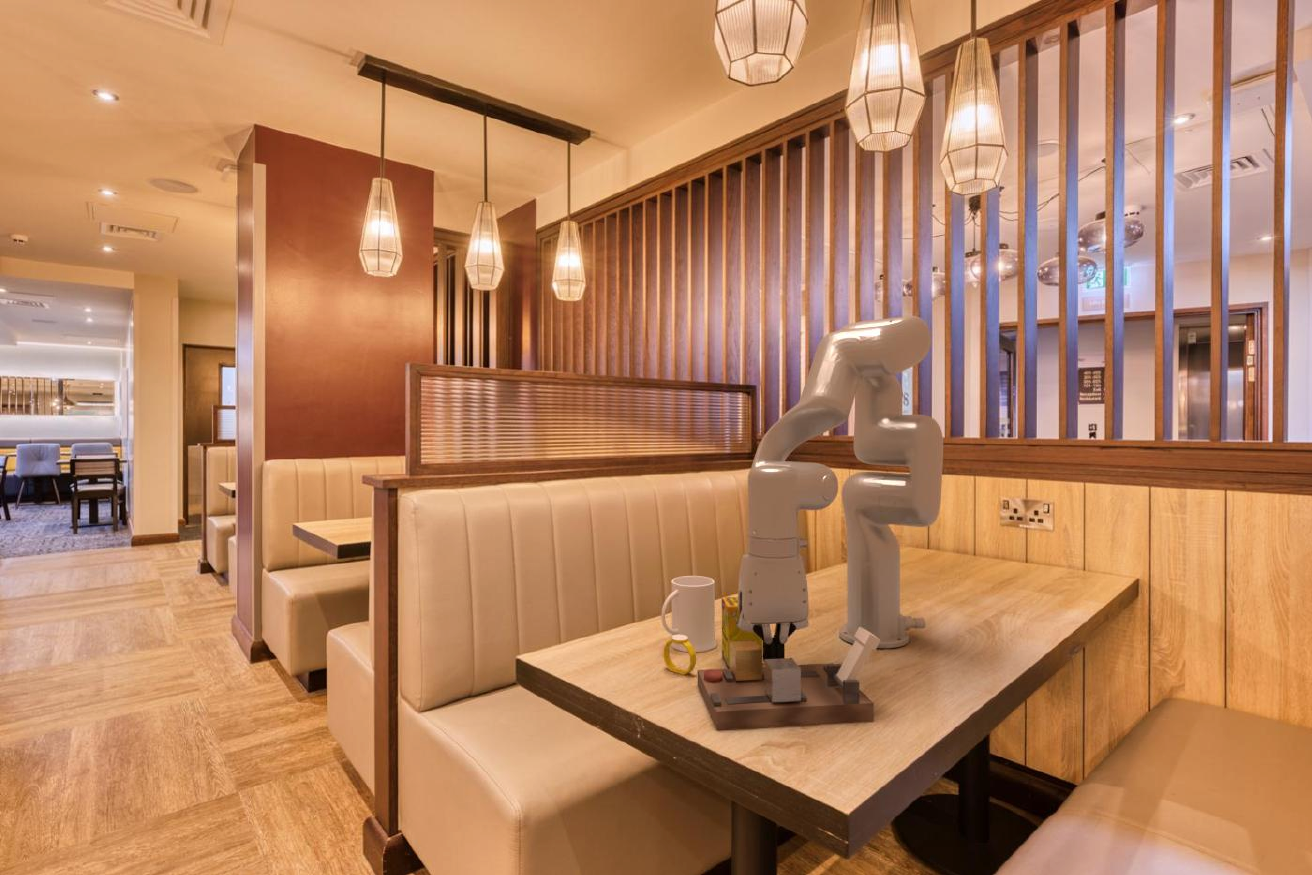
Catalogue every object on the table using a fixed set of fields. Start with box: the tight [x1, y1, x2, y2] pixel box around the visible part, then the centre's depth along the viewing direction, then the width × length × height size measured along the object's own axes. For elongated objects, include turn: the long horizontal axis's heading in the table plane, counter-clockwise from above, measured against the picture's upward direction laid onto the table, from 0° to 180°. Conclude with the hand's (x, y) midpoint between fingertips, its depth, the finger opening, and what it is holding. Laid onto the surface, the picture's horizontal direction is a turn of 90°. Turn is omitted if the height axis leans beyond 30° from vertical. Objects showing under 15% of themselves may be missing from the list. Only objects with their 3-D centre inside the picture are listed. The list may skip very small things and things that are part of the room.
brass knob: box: [730, 641, 763, 681], centre depth 99 cm, size 4×4×4 cm
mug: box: [660, 575, 717, 653], centre depth 120 cm, size 12×8×12 cm
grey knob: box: [763, 657, 801, 702], centre depth 92 cm, size 4×4×4 cm
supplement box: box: [721, 596, 764, 668], centre depth 111 cm, size 6×6×11 cm
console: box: [697, 662, 875, 731], centre depth 96 cm, size 22×15×6 cm
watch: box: [662, 635, 697, 676], centre depth 108 cm, size 6×3×6 cm, turn 51°
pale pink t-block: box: [833, 626, 881, 689], centre depth 93 cm, size 2×4×9 cm, turn 7°
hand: (773, 666), depth 100 cm, fingers closed
